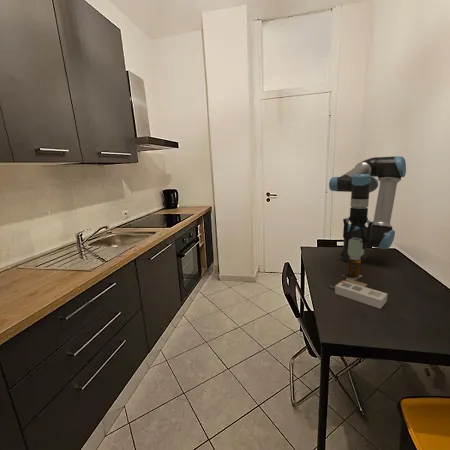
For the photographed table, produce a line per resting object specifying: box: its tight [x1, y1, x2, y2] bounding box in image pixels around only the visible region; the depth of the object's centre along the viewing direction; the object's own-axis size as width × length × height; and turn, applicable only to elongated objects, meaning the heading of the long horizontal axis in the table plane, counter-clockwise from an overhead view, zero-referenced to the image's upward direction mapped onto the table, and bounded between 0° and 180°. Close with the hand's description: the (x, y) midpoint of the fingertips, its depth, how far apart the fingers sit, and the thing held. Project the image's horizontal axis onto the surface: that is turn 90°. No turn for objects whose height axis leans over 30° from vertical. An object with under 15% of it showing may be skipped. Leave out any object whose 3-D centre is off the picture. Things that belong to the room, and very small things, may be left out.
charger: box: [348, 238, 362, 261], centre depth 128 cm, size 5×5×10 cm
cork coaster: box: [344, 277, 368, 287], centre depth 133 cm, size 10×10×1 cm
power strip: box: [328, 280, 388, 310], centre depth 123 cm, size 25×8×4 cm, turn 43°
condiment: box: [341, 257, 363, 281], centre depth 143 cm, size 7×8×12 cm
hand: (355, 253), depth 129 cm, fingers closed on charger, 5 cm apart
